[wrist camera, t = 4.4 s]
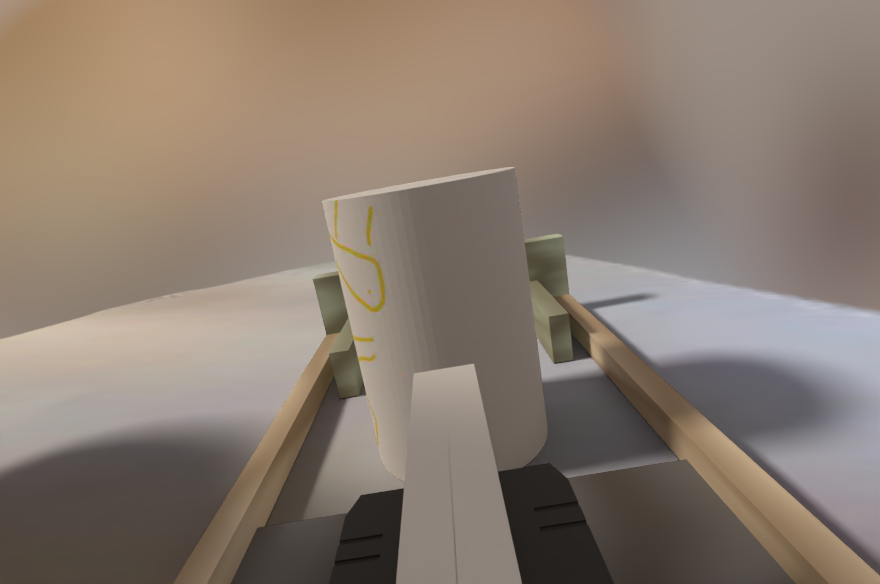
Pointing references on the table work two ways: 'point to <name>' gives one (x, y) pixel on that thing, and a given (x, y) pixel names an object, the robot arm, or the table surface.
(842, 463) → the table surface
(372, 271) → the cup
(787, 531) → the wooden tray frame
